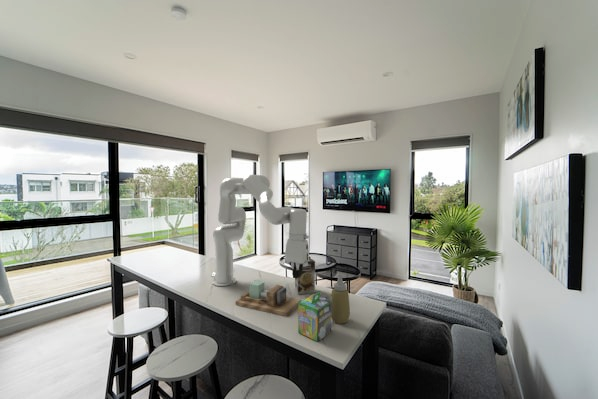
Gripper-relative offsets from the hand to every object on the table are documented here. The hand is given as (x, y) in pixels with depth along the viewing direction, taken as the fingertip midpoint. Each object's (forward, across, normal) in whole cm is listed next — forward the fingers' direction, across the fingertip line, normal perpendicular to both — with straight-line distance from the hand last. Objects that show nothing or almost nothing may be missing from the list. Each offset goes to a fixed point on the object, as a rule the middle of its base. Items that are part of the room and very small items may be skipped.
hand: (296, 277), depth 113 cm
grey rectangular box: (+11, +10, +4) cm, 15 cm away
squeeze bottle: (+12, -22, +4) cm, 25 cm away
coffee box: (+13, +2, -16) cm, 21 cm away
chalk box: (+12, -16, +16) cm, 26 cm away
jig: (+13, +11, +4) cm, 18 cm away
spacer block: (+12, +18, +4) cm, 22 cm away
